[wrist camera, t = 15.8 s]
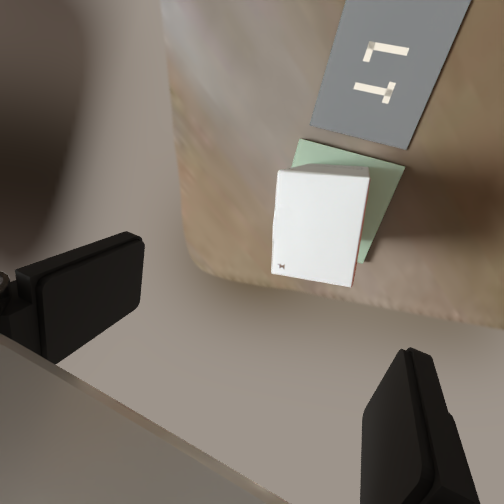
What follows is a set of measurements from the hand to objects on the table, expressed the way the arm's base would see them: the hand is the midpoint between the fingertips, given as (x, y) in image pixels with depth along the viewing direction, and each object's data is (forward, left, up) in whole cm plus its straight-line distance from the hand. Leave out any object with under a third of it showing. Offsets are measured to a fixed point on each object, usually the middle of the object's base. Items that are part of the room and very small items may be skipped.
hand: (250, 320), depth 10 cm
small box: (0, 0, -25) cm, 25 cm away
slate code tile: (-13, 0, -26) cm, 29 cm away
